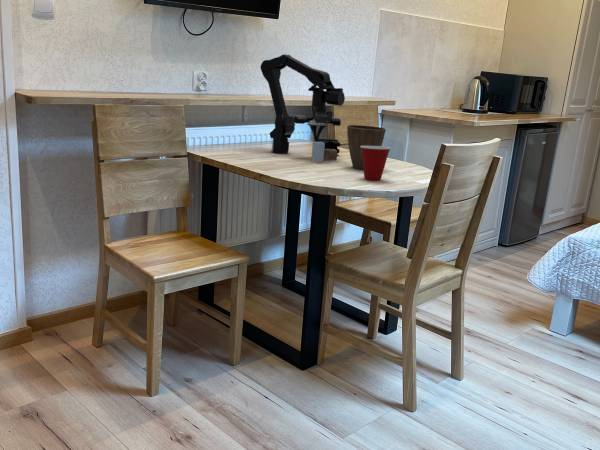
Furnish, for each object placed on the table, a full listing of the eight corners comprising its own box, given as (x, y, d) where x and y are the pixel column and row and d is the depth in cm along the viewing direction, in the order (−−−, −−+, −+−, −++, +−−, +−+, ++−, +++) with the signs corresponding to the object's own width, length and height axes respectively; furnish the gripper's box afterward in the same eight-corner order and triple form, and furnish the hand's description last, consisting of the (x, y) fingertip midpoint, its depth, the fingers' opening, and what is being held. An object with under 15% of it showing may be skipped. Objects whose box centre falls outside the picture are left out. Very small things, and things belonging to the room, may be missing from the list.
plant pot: (337, 164, 236) (340, 124, 232) (370, 164, 241) (374, 125, 237) (353, 171, 223) (357, 129, 219) (388, 172, 228) (393, 130, 224)
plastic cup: (378, 176, 218) (382, 143, 214) (392, 182, 208) (396, 148, 205) (352, 176, 214) (355, 142, 211) (365, 182, 204) (368, 147, 201)
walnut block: (318, 149, 244) (337, 150, 246) (316, 148, 248) (335, 149, 250) (318, 159, 245) (336, 160, 247) (315, 157, 249) (334, 158, 251)
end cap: (334, 153, 265) (335, 138, 263) (340, 156, 258) (341, 141, 256) (313, 153, 262) (314, 137, 260) (318, 155, 255) (319, 140, 253)
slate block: (313, 162, 236) (314, 142, 234) (311, 161, 240) (312, 141, 238) (323, 163, 237) (324, 143, 235) (320, 161, 241) (322, 141, 238)
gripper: (300, 103, 231) (297, 143, 236) (346, 106, 235) (342, 145, 239) (295, 101, 242) (292, 139, 246) (338, 104, 246) (335, 141, 250)
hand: (315, 141), depth 245 cm, fingers closed
